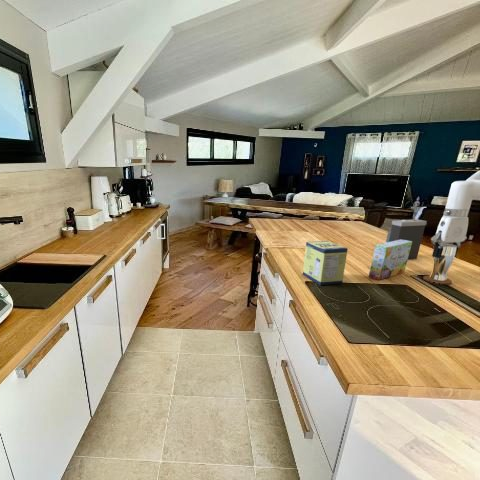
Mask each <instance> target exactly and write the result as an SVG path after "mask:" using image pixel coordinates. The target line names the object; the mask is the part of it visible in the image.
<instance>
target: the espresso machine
mask: <svg viewBox="0 0 480 480" xmlns="http://www.w3.org/2000/svg"><path fill="white" fill-rule="evenodd" d="M427 222H428V221H427V220H423V219H417V218H416V219H415V218H413V219H397V220H395V219H394V220H392V221H391V229H390V230H388V231H387V235H386V239H385V243H387V242H392V241H396V240H407V241H412V245H411V249H410V252H409V256H408V260H417V259H418V256H419V252H420V249H421V244H422V240H423V235H424V232H425V228H426V226H427V224H428V223H427Z"/></svg>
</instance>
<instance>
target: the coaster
mask: <svg viewBox="0 0 480 480" xmlns="http://www.w3.org/2000/svg"><path fill="white" fill-rule="evenodd" d="M429 276H430V275H424V276H423V277H422V280H423V281H425V282H427V283H431V284H436V285H444V286H445V285H451V284H452V283H453V281H452V279H450V278H447V280H446V281H434V280H431V279H429ZM429 281H430V282H429ZM433 282H435V283H433ZM439 283H440V284H439Z"/></svg>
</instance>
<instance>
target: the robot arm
mask: <svg viewBox="0 0 480 480" xmlns="http://www.w3.org/2000/svg"><path fill="white" fill-rule="evenodd" d="M473 201H480V169H479V170H477V171H476V172H475V173H473V174H472V175H471V176H470V177H468V178H467V179H466V180H455V181H453V182H452V183H451V186H450V188H449V193H448V196H447V200H446V203H445V208H444V211H443V215H442V217H441V219H440V221H439V223H438V225H437V229H436V232H435V235H433V236H432V237H431V238H430V242H431V244H432V247H433V251H432V254H431V257H432V258H433V257H436V258H440V256H441V252H442V249H441V247H442V246H443V245H444V243H445V244H453V245H456V246H457V248H456V254H455V257H454V258H456V257H457V254H458V251H459V248H461V246H462V244H463V243H464V242H465V241H466V240H467V239H468V237H467V232H468V227H469V217H468V216H469V212H470V210H471V209H470V208H471V205H472V202H473ZM439 243H440V245H439Z"/></svg>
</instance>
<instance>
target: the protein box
mask: <svg viewBox="0 0 480 480" xmlns="http://www.w3.org/2000/svg"><path fill="white" fill-rule="evenodd" d="M347 255H348V247H345V246H342V245H339V244H337V243H334V242H331V241H329V240H321V241H306V242H305V250H304V259H303V260H304V261H303V266H302V267H303V269H302V276H304V277H305V278H307V279H309V280H310V281H312V282H313V283H315V284H317V285H318V286H330V285H342V284H343V281H344V274H345V269H346V268H345V267H346V263H347V261H346V260H347V257H348V256H347Z"/></svg>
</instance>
